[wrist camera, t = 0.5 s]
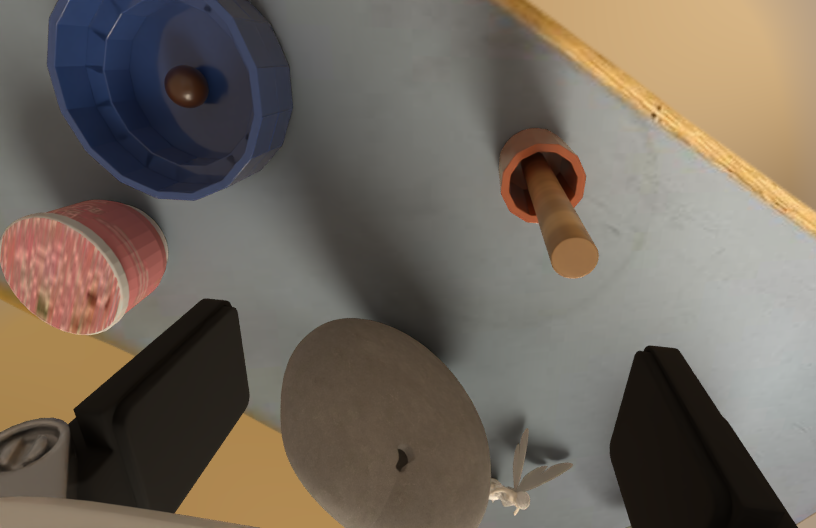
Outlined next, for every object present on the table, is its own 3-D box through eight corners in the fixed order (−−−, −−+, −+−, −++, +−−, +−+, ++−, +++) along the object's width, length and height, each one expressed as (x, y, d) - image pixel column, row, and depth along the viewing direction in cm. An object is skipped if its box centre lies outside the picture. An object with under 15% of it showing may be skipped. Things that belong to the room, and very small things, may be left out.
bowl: (89, -26, 34) (15, -41, 29) (284, -30, 32) (243, -47, 27) (137, 176, 41) (84, 194, 35) (302, 184, 38) (273, 205, 33)
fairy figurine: (461, 481, 48) (496, 496, 42) (492, 422, 51) (528, 428, 44) (505, 513, 49) (546, 533, 42) (533, 454, 52) (575, 464, 45)
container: (71, 259, 45) (-8, 297, 38) (88, 166, 41) (3, 190, 34) (168, 309, 46) (109, 356, 39) (195, 224, 42) (134, 259, 34)
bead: (176, 64, 35) (151, 65, 33) (213, 64, 35) (189, 65, 32) (184, 105, 37) (160, 109, 34) (219, 106, 36) (197, 110, 34)
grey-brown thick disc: (313, 314, 44) (203, 477, 27) (355, 263, 41) (261, 410, 24) (462, 424, 46) (448, 635, 29) (511, 383, 43) (528, 592, 26)
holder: (502, 126, 34) (505, 142, 28) (572, 128, 33) (591, 145, 27) (496, 192, 36) (498, 221, 30) (561, 195, 36) (578, 225, 29)
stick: (522, 150, 34) (554, 235, 18) (547, 151, 34) (602, 238, 18) (519, 174, 35) (547, 277, 19) (544, 175, 35) (594, 280, 18)
